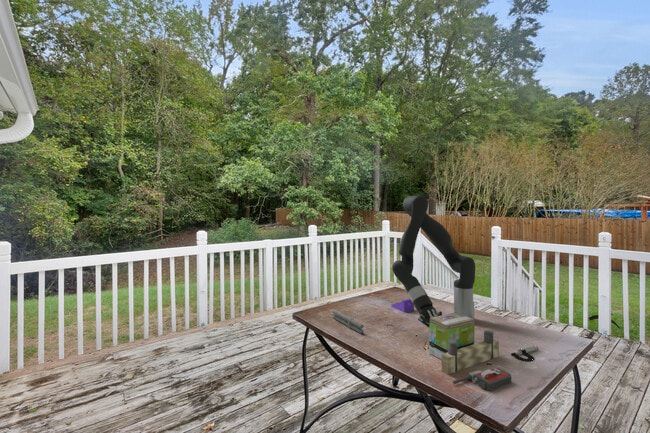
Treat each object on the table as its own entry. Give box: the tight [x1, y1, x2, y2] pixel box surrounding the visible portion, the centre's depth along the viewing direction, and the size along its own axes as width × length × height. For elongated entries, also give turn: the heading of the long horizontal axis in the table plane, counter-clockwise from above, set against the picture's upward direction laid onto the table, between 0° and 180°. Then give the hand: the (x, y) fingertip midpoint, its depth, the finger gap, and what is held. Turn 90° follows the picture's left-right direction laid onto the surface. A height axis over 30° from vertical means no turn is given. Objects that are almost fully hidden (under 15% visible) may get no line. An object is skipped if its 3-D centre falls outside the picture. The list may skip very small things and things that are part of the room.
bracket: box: [390, 298, 415, 313], centre depth 188 cm, size 12×7×7 cm, turn 25°
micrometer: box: [510, 345, 539, 363], centre depth 127 cm, size 15×7×2 cm, turn 113°
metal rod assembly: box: [332, 309, 364, 335], centre depth 163 cm, size 26×3×5 cm, turn 29°
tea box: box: [428, 312, 476, 361], centre depth 129 cm, size 15×10×15 cm, turn 117°
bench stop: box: [441, 329, 500, 375], centre depth 122 cm, size 28×3×10 cm, turn 118°
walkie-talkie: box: [452, 367, 512, 392], centre depth 108 cm, size 9×4×20 cm
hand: (441, 334), depth 135 cm, fingers closed
